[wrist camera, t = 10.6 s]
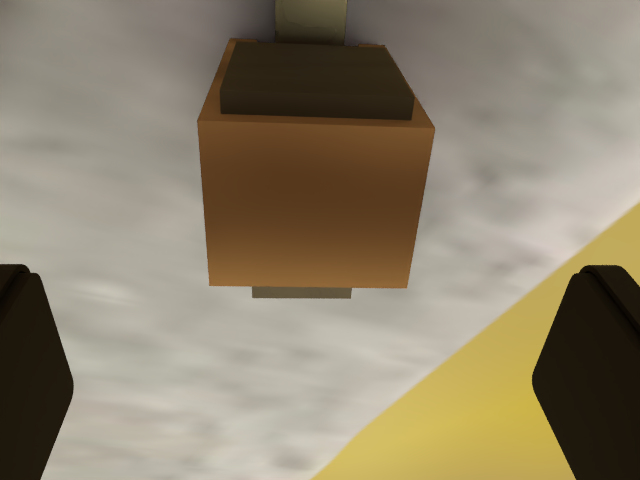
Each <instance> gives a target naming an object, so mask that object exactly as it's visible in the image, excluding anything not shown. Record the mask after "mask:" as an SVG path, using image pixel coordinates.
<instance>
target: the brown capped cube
mask: <svg viewBox="0 0 640 480" xmlns="http://www.w3.org/2000/svg"><path fill="white" fill-rule="evenodd" d="M197 123H198V136H199V150H200V164H201V177H202V191H203V204H204V218H205V231H206V245H207V259H208V272H209V286H260V287H340V288H407V285H408V279H409V273H410V268H411V262H412V257H413V251H414V245H415V240H416V234H417V228H418V223H419V217H420V211H421V206H422V200H423V195H424V189H425V183H426V178H427V172H428V166H429V161H430V155H431V149H432V144H433V138H434V133H435V127H434V126H433V124H432V122H431V121H430V119H429V117H428V116H427V114H426V112H425V111H424V109H423V108H422V106H421V104H420V103H419V101H418V99H417V98H416V96H415V94H414V93H413V91H412V89H411V88H410V86H409V85H408V83H407V81H406V80H405V78H404V76H403V75H402V73H401V71H400V70H399V68H398V67H397V65H396V63H395V62H394V60H393V58H392V57H391V55H390V53H389V52H388V50H387V48H386V47H385V45H370V44H358V47H357V46H334V45H311V44H288V43H265V42H257V40H256V39H233V38H230V40H229V42H228V45H227V47H226V50H225V52H224V55H223V57H222V60H221V62H220V65H219V67H218V70H217V72H216V75H215V77H214V80H213V82H212V85H211V87H210V90H209V93H208V95H207V98H206V100H205V103H204V105H203V108H202V110H201V113H200V115H199V118H198V120H197Z"/></svg>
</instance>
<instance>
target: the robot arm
mask: <svg viewBox="0 0 640 480" xmlns="http://www.w3.org/2000/svg"><path fill="white" fill-rule="evenodd" d="M532 385H533V390H534V392H535V394H536V397H537V399H538V401H539V403H540V405H541V407H542V409H543V411H544V413H545V415H546V417H547V420H548V422H549V424H550V426H551V428H552V430H553V432H554V434H555V436H556V438H557V440H558V443H559V445H560V447H561V449H562V451H563V453H564V455H565V457H566V459H567V462H568V464H569V465H570V468H571V470H572V472H573V474H574V476H575V478H576V480H640V287H639V285H638V284H637V283H636V282H635V281H634V279H633V278H632V277H631V276H630V275H629V274H628V272H627V271H626V270H625V269H623V268H622V267H621V266H617V265H588V266H585V267H583V268H582V269H581V270H580V272H579V273H576V274H574V275H573V276H572V277H571V279H570V281H569V284H568V286H567V289H566V291H565V294H564V296H563V299H562V301H561V304H560V306H559V309H558V311H557V314H556V316H555V319H554V321H553V324H552V326H551V329H550V332H549V334H548V336H547V339H546V342H545V344H544V346H543V349H542V351H541V354H540V356H539V359H538V361H537V364H536V366H535V369H534V372H533V375H532ZM73 388H74V385H73V378H72V375H71V372H70V368H69V365H68V362H67V359H66V356H65V353H64V350H63V346H62V343H61V340H60V337H59V334H58V331H57V327H56V324H55V321H54V318H53V315H52V312H51V309H50V305H49V302H48V299H47V296H46V293H45V290H44V287H43V283H42V280H41V278H40V276H39V275H38V274H37V273H30V270H29V268H28V267H27V266H26V265H22V264H0V480H40V479H41V477H42V474H43V471H44V469H45V466H46V464H47V461H48V459H49V456H50V454H51V451H52V448H53V446H54V443H55V441H56V438H57V436H58V433H59V431H60V428H61V425H62V423H63V420H64V418H65V415H66V413H67V410H68V408H69V405H70V402H71V399H72V396H73Z"/></svg>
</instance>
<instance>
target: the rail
mask: <svg viewBox="0 0 640 480" xmlns="http://www.w3.org/2000/svg"><path fill="white" fill-rule="evenodd" d="M346 10H347V0H275V43H288V44H311V45H334V46H344V39H345V25H346ZM351 291H352V288H340V287H260V286H252V298H350V299H351Z"/></svg>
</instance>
